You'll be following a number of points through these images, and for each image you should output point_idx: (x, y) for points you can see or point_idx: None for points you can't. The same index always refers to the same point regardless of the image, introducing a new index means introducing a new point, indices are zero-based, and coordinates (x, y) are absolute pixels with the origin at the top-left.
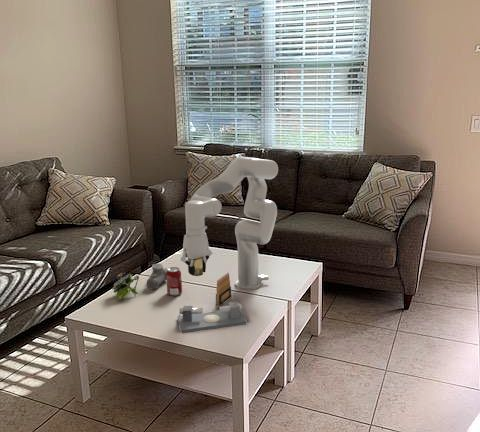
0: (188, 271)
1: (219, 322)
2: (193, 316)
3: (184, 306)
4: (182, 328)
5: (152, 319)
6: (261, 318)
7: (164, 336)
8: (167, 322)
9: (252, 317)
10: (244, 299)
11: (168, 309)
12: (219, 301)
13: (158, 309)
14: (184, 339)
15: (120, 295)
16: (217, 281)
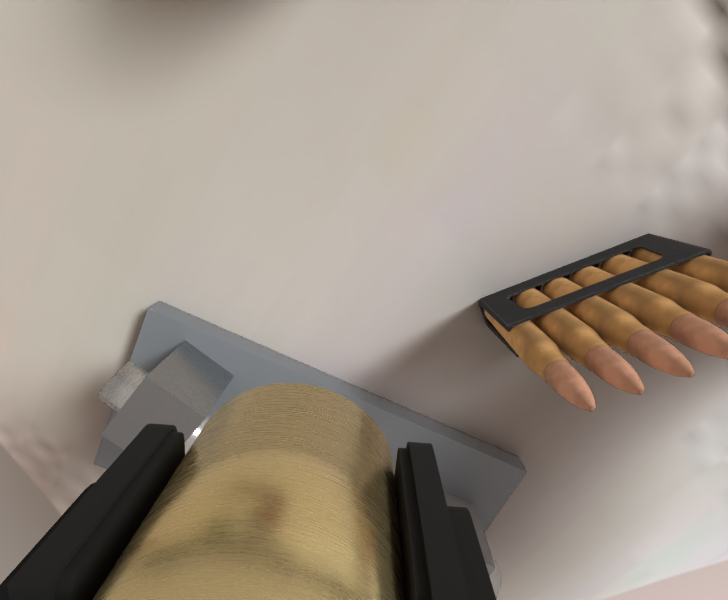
0: (88, 490)
1: None
2: (236, 377)
3: (146, 389)
4: (106, 453)
5: (11, 181)
6: (542, 578)
7: (11, 415)
8: (87, 288)
9: (518, 545)
10: None
11: (173, 117)
12: (497, 336)
13: (106, 59)
14: None
15: None
16: (570, 399)
